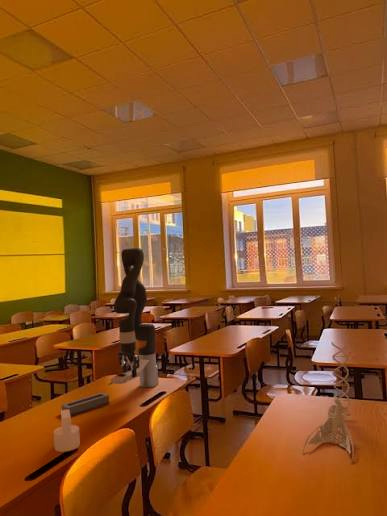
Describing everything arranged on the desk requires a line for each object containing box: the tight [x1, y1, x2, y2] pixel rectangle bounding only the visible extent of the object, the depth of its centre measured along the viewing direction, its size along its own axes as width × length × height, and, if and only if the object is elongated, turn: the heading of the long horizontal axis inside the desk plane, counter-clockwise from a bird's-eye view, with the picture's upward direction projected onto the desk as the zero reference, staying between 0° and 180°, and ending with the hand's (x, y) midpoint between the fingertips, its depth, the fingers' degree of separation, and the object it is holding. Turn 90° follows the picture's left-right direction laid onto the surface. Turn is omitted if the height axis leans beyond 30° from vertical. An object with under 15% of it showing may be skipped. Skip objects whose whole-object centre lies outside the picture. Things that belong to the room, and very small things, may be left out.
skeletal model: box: [302, 399, 355, 464], centre depth 143 cm, size 16×9×25 cm
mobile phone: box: [107, 359, 149, 386], centre depth 194 cm, size 6×6×25 cm
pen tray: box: [61, 392, 110, 417], centre depth 192 cm, size 21×6×4 cm, turn 134°
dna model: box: [331, 341, 351, 414], centre depth 168 cm, size 7×6×30 cm
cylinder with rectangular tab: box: [53, 409, 81, 453], centre depth 153 cm, size 9×9×12 cm
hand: (129, 375), depth 194 cm, fingers closed on mobile phone, 6 cm apart
